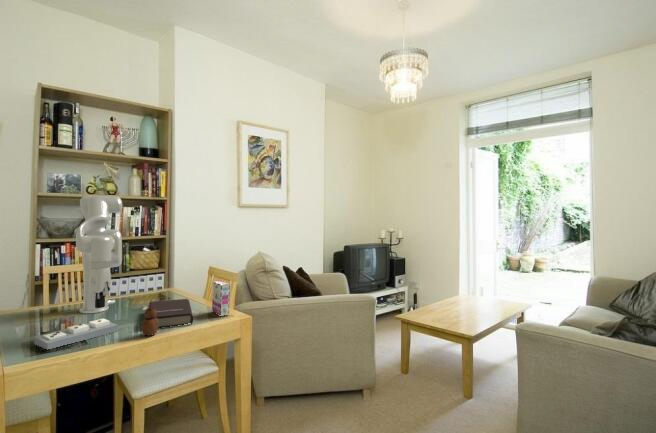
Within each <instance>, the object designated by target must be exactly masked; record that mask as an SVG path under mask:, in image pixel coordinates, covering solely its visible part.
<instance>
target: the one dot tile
mask: <svg viewBox="0 0 656 433" xmlns="http://www.w3.org/2000/svg"><path fill="white" fill-rule="evenodd" d="M110 322H111V321H110V320H109V319H106V318H99V319H95V320H91V321H89V322H88V323H89V326H90V327H93V328H99V327H103V326H107V325H110Z"/></svg>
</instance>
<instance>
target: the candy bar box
mask: <svg viewBox="0 0 656 433" xmlns="http://www.w3.org/2000/svg"><path fill="white" fill-rule="evenodd" d="M230 286H231V284H230V283H228V282H225V281H222V280H217V281H212V304H211V308H212V309H211V312H212V311H213V312H215V313H217V314H219V315H224V314H228V313H229V314H230V292H231V291H230V290H231V287H230ZM213 312H212V313H213ZM215 313H214V314H215Z"/></svg>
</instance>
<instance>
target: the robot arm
mask: <svg viewBox="0 0 656 433" xmlns="http://www.w3.org/2000/svg"><path fill="white" fill-rule="evenodd" d="M79 206H80V211H81V213H82V215H83V217H84V221H83V222H82V223H81V224H80V225H79V226H78V227H77V229H76V234H75V248H76V250H77V252H79V253H81V254H82V256H81V257H82V258H81V260H82V261H81V262H82V267H83V301H82V302H83V306H82V307H81V308H80V309H79V313H80V314H97V313H102V312H106V311H108V310H109V308H110V306H109V305H112V304H116V299H111V300H110V299H106V297H107V296H108V295H109V292H110V291H111V290H112V275H111V268H116V267H117V268H118V267H120V266H121V265H122V261H123V240H122V239H123V238H122V233H121V231H120V230H119V229H113V228H112V229H111V228H110V229H107V228H106V226H107V225H108V224H109V223H110V214H112V213H113V214H120V213H121V212H122V209H123V201H122V199H121V197H119V196H113V195H112V196H111V195H85V196H82V197H81V198H80V200H79Z"/></svg>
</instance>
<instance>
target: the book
mask: <svg viewBox="0 0 656 433" xmlns="http://www.w3.org/2000/svg"><path fill="white" fill-rule="evenodd" d="M150 302H151V303H152V308H154V309H156V311H157V315H156V316H155V317H156V318H158V321H159V326H158V328H160V329H163V328H162V327H169V328H171V327H170V326H178V325H184V324H188V323H191V325H192V324H193V322H194V317H193V316H194V315H193V311H192V307H191V302H190V300H189V299H188V298H180V299H169V300H157V301H149V303H148V308H147V309H150ZM178 327H179V326H178Z"/></svg>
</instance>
